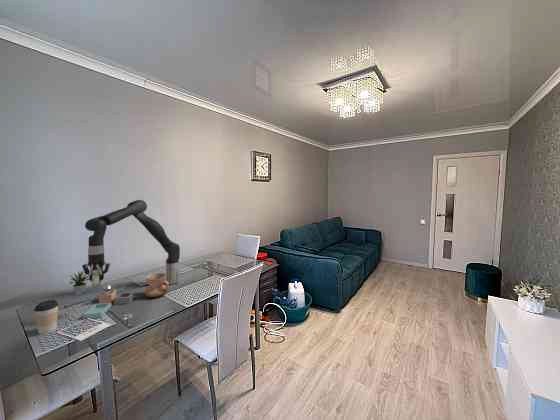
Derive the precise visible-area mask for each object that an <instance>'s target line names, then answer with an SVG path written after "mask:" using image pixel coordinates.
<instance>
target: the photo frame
mask: <svg viewBox="0 0 560 420" xmlns="http://www.w3.org/2000/svg"><path fill="white" fill-rule="evenodd" d="M84 320H85V321H87V320H88V321H92V322H94V321H95V322H94V323H98V325H95V326H93V327H91V328H89V329H88V330H86V331H84V332H82V333H80V334H78V335H76V336H73V335H70V334H66V333H64V330H67V329H69V328H71V326H72V327H74V326H76V325H78V324H80V323H82V321H83V322H84ZM87 320H86V319H82V320H81V321H78V322H77V323H74V324H72V325H70V326H67V327H66V328H63V329H60V330H58V331H57V332H56V334H57V333H58V334H57V335H60V334H61V336H63V335H65V336H64V337H66V336H68V337H67V338H70V337H72V338H71V339H73V338H74V339H73V340H77V341H79V342H81V341H84V340H85V339H87V338H89V337H91V336H93V335H95V334H96V333H99V332H100V331H102V330H104V329H107V327H110V326H111V323H107V322H104V321H100V320H97V319H94V318H87ZM101 323H102V324H101ZM75 324H76V325H75ZM73 325H74V326H73Z"/></svg>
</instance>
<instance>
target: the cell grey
mask: <svg viewBox="0 0 560 420" xmlns="http://www.w3.org/2000/svg"><path fill="white" fill-rule="evenodd" d="M102 288H103V290H102V292H103V291H104V295H105V294H111V290H112V284H110V283H109V284H105V285H103V287H102Z"/></svg>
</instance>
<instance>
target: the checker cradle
mask: <svg viewBox="0 0 560 420" xmlns="http://www.w3.org/2000/svg"><path fill="white" fill-rule="evenodd" d="M135 295H136V293H135V291H127V292H126V291H125V292H119V293H118V294H116V297H115V298H114V300H113V305H114V306H116V305H117V306H119V305H126V304H127V305H129V304H131V303H132V302H133V300H134V299H135V298H136V296H135Z"/></svg>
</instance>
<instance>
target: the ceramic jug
mask: <svg viewBox="0 0 560 420" xmlns="http://www.w3.org/2000/svg"><path fill="white" fill-rule="evenodd" d="M145 281H147V284H148V287H147V288H146V289H144V295H145V296H146V297H147V298H158V297H162V296H164V295H166V293H167V292H168V288H169V286H170V285H169V283H168V282H167V281H166V273H164V272H156V273H151V274H149V275H147V276H146V279H145Z"/></svg>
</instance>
